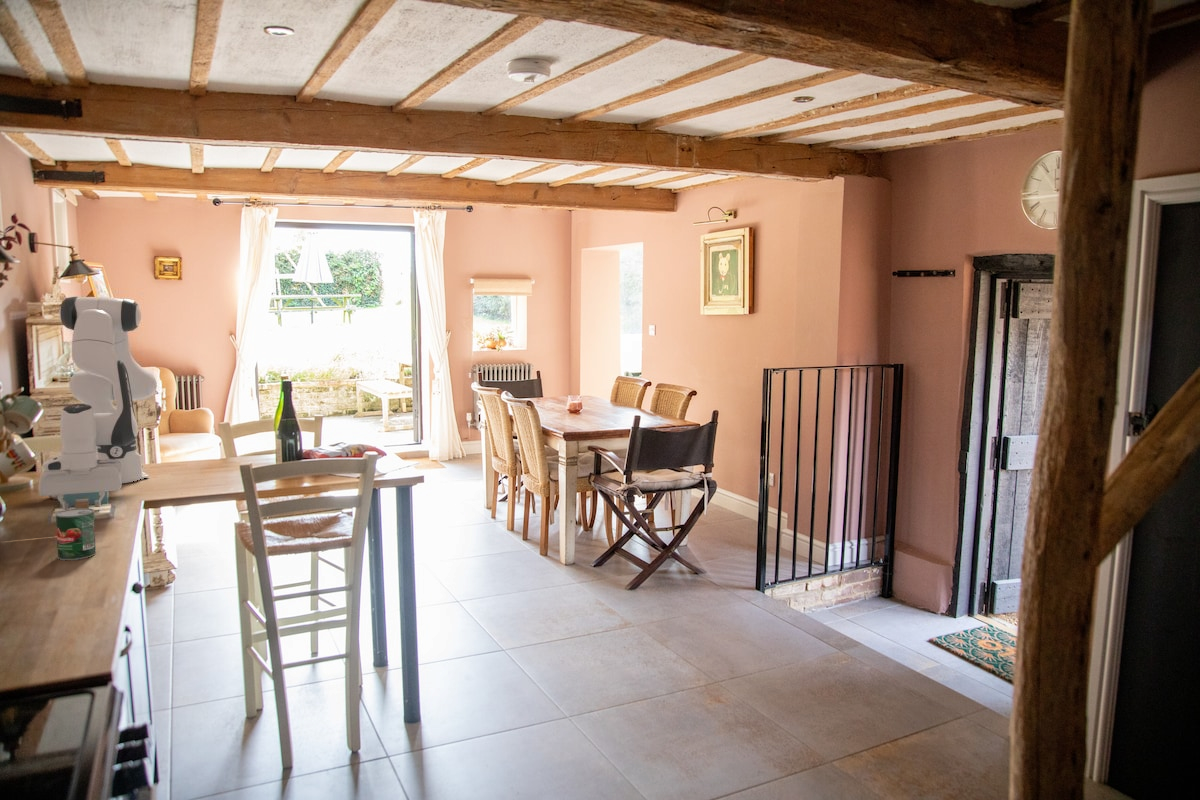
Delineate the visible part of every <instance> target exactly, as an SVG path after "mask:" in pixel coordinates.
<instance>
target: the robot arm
mask: <svg viewBox="0 0 1200 800" xmlns="http://www.w3.org/2000/svg"><path fill="white" fill-rule="evenodd" d="M58 315H59V319H60V322H61V324H62V326H64V327H65V328H66V329H68V330H71V331H73V332H72V339H71V358H72V361H73V363H74V365H75V366H76V367H77V368H78V369H80V370H79V371H76V372H75V373H74V374H73V375H72V376H70V377H71V378H70V380H69V383H68V384H69V385H68V386H69V391H70V393H71V395H72V396H73V397H74V398H75V399H76V400H77V401H80V402H81V403H78V404H77V403H76V404H70V405H67V406H65V407H63V408H62V410H61V414H60V423H59V424H60V425H59V438H60V440H61V444H62V447H61V450H60V455H58V456H57V457H54V458H49V459H47V460H45V461H44V462H43V463H42V470H43V471H42V472H41V474H40V477H39V482H38V494H39V495H40V496H41V497H49V496H53V495H57V498H58V499H57V501H58V502H59V504H60V503H61V504H62V506H63V510H69V503H65V501H64V500H63V499H62V498H63V497H64V495H66V494H79V493H92V492H99V495H101V496H100V498H99V499H98V500H95V507H101V500H102V499H103V497H104V495H105V491H109V492H114V491H115V492H116V491H119V490H120V489H121V488H122V486H123V485H122V484H127V483H128V484H129V483H133V481H134V482H137V480H138V481H141V480H145V479H144V478H147V479H149V478H150V476H149V474H147V473H146V472H144V471H143V462H142V461H143V460H142V455H141V454H140V453H139V452H138V451H137V444H138V443H137V437H138V433H139V426H138V422H137V419H136V414H135V408H134V402H133V401H139V400H140V401H141V400H145V399H149V398H151V397H152V396H153V395H154V394H155V392H156V390H157V383H158V382H157V379H156V377H155V375H154V374H153V373H152V372H151V371H150V370H148V369H146V368H144V367H143V366H142V365H140V364H139V363H138V362H137V361H136V359H134V357H133V355H132V353H131V349H130V343H129V342H130V341H129V335H128V334H129V333H128V332H132V331H135V330H137V328H138V327H139V325H140V323H141V320H142V312H141V308H140V306H139V304H138V303H137V302H136V301H135V300H133V299H129V298H116V297H109V296H108V297H107V296H85V297H83V296H81V297H78V296H70V297H69V296H68V297H66V298H65V299H63V300H62V302H61V305H60V307H59V311H58ZM113 402H115V405H116V407H115V406H114V404H113ZM148 477H149V478H148ZM140 479H141V480H140Z"/></svg>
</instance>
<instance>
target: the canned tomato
mask: <svg viewBox="0 0 1200 800" xmlns="http://www.w3.org/2000/svg"><path fill="white" fill-rule="evenodd" d="M55 524H56V541H57V543H56V544H57V559H58V560H59V559H60V561H65V560H71V561H79V559H80V560H85V559H88V557H89V558H91V556H92V557H94V556H95V555H96V554H97V552H96V548H97V547H96V530H95V528H96V527H95V520H94V510H93V509H90V508H77V509H69V510H64V511H60V512H58V513H56V523H55ZM93 555H94V556H93ZM84 558H85V559H84Z"/></svg>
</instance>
